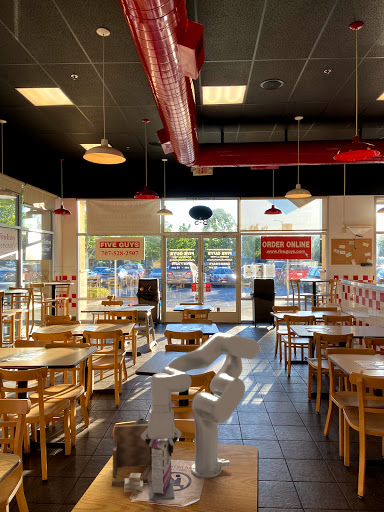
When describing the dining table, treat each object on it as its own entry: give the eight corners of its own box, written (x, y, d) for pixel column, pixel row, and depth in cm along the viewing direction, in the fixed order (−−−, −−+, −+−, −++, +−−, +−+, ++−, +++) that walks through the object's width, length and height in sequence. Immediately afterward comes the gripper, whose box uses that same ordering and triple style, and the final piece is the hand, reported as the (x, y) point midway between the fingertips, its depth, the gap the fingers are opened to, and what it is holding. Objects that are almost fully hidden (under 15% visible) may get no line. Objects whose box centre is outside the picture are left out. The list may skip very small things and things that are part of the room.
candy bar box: (159, 476, 154) (159, 434, 154) (171, 478, 153) (171, 435, 153) (150, 493, 143) (150, 447, 143) (164, 494, 142) (164, 448, 142)
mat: (172, 480, 154) (172, 479, 154) (174, 498, 142) (174, 496, 142) (149, 482, 153) (149, 480, 153) (149, 500, 141) (149, 498, 141)
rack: (157, 463, 168) (157, 423, 168) (158, 482, 153) (158, 438, 153) (114, 466, 166) (114, 425, 166) (111, 486, 151) (111, 441, 151)
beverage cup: (148, 457, 173) (148, 412, 174) (132, 457, 173) (131, 412, 174) (150, 450, 180) (150, 406, 181) (134, 450, 180) (134, 406, 181)
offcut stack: (142, 484, 152) (142, 472, 152) (142, 490, 147) (142, 478, 147) (124, 485, 151) (124, 473, 151) (124, 492, 147) (123, 479, 147)
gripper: (182, 402, 153) (183, 449, 153) (138, 404, 151) (138, 452, 151) (184, 409, 146) (185, 458, 145) (138, 412, 144) (138, 461, 144)
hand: (161, 454), depth 148 cm, fingers closed on candy bar box, 6 cm apart
